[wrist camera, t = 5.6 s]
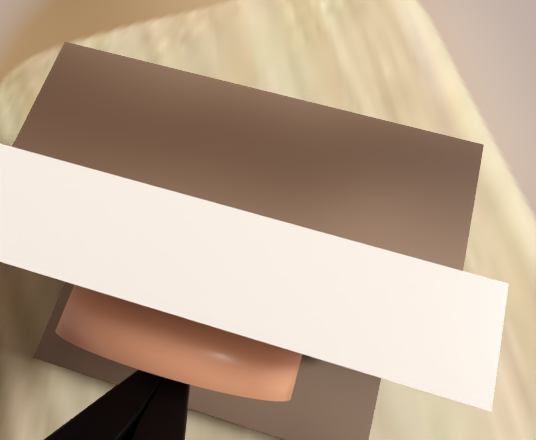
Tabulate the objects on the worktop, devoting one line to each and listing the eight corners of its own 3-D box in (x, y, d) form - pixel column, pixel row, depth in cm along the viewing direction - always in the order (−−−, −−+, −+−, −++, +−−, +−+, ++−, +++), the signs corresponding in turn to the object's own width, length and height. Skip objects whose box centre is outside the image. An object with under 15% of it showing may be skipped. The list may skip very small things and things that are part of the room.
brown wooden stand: (351, 448, 14) (417, 544, 8) (63, 355, 15) (-99, 368, 9) (399, 222, 17) (483, 145, 10) (145, 154, 18) (64, 41, 11)
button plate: (349, 400, 12) (478, 509, 4) (68, 313, 13) (-236, 275, 5) (368, 317, 13) (508, 283, 5) (99, 238, 14) (-131, 107, 6)
